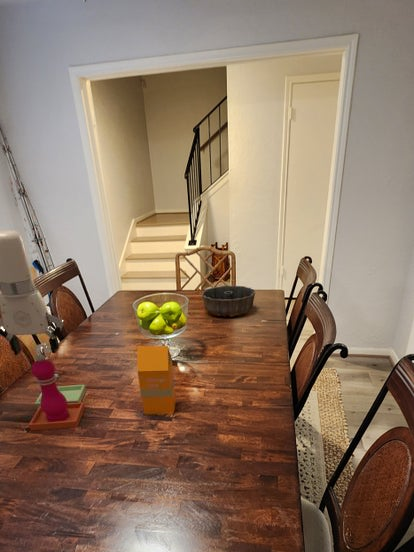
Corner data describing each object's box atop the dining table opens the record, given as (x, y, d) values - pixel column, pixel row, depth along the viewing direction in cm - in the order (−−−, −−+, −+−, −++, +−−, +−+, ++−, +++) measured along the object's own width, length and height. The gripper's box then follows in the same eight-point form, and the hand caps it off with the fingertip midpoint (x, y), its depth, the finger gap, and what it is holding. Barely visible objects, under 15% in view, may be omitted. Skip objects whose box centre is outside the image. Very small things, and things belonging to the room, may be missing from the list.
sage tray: (36, 409, 114) (34, 403, 113) (46, 392, 123) (44, 387, 122) (79, 405, 115) (77, 400, 114) (86, 389, 124) (84, 384, 123)
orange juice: (148, 400, 116) (139, 341, 105) (176, 400, 115) (170, 340, 105) (144, 414, 109) (133, 352, 99) (173, 414, 109) (166, 351, 98)
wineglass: (46, 382, 129) (37, 350, 123) (40, 377, 133) (31, 346, 127) (62, 376, 132) (54, 345, 126) (56, 371, 136) (47, 341, 130)
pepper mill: (64, 407, 113) (46, 347, 103) (75, 416, 109) (58, 354, 98) (41, 417, 109) (20, 355, 99) (51, 427, 105) (31, 363, 94)
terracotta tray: (30, 430, 105) (28, 424, 104) (41, 410, 113) (39, 405, 112) (77, 427, 105) (75, 421, 104) (85, 407, 114) (83, 402, 113)
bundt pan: (200, 305, 196) (199, 286, 191) (249, 302, 198) (249, 283, 193) (205, 322, 174) (204, 301, 168) (260, 318, 175) (261, 297, 170)
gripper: (-26, 292, 86) (-3, 359, 95) (50, 289, 86) (66, 356, 95) (-12, 284, 92) (9, 348, 101) (58, 281, 93) (73, 344, 102)
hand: (36, 352), depth 98 cm, fingers open, 9 cm apart
